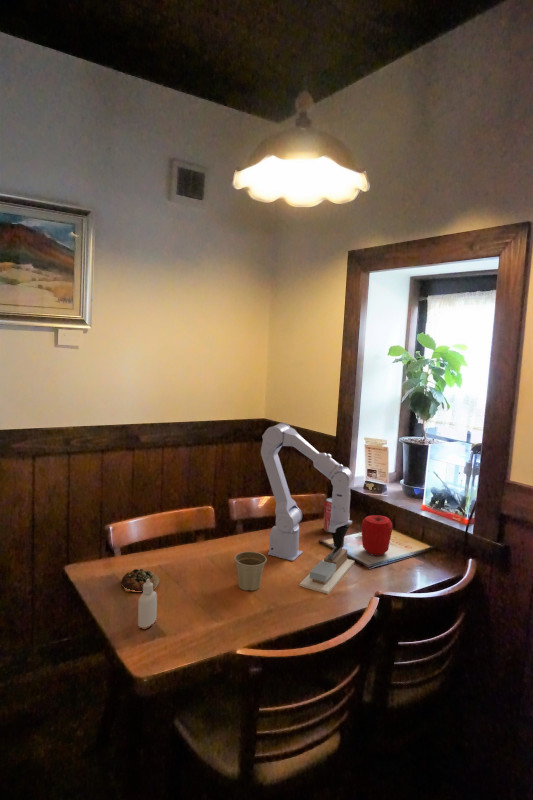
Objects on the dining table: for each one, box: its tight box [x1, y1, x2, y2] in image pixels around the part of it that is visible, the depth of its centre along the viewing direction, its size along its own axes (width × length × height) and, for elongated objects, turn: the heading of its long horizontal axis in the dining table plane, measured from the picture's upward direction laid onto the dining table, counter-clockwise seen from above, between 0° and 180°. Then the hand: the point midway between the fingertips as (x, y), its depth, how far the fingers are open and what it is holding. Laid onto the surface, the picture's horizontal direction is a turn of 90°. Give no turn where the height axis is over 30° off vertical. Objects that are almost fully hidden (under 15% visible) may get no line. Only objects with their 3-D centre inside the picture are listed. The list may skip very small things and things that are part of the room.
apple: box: [361, 514, 393, 556], centre depth 181 cm, size 11×10×14 cm
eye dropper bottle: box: [137, 579, 158, 627], centre depth 132 cm, size 4×6×12 cm
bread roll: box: [120, 568, 161, 591], centre depth 153 cm, size 11×11×5 cm
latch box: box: [299, 547, 355, 595], centre depth 164 cm, size 9×24×4 cm, turn 153°
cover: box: [309, 560, 336, 582], centre depth 160 cm, size 5×9×2 cm, turn 153°
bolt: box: [327, 539, 345, 560], centre depth 169 cm, size 2×9×4 cm, turn 153°
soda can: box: [322, 497, 332, 534], centre depth 200 cm, size 6×6×12 cm
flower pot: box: [233, 551, 268, 592], centre depth 154 cm, size 9×9×9 cm
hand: (337, 546), depth 171 cm, fingers closed
